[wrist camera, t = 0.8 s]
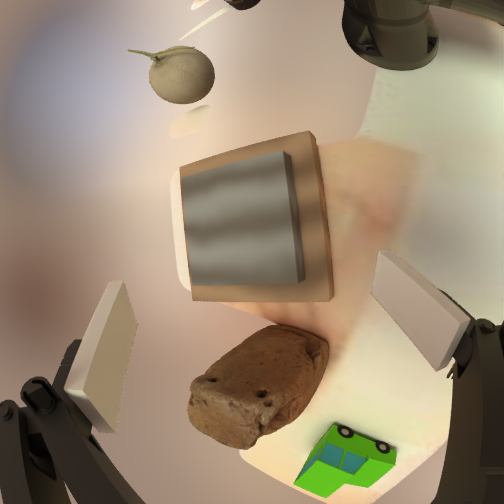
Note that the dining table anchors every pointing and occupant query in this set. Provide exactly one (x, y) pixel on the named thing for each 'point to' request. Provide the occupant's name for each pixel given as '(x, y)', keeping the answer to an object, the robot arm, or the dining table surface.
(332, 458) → the toy car
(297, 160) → the tower base
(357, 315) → the dining table surface
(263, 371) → the block
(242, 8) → the coffee mug
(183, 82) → the fruit
